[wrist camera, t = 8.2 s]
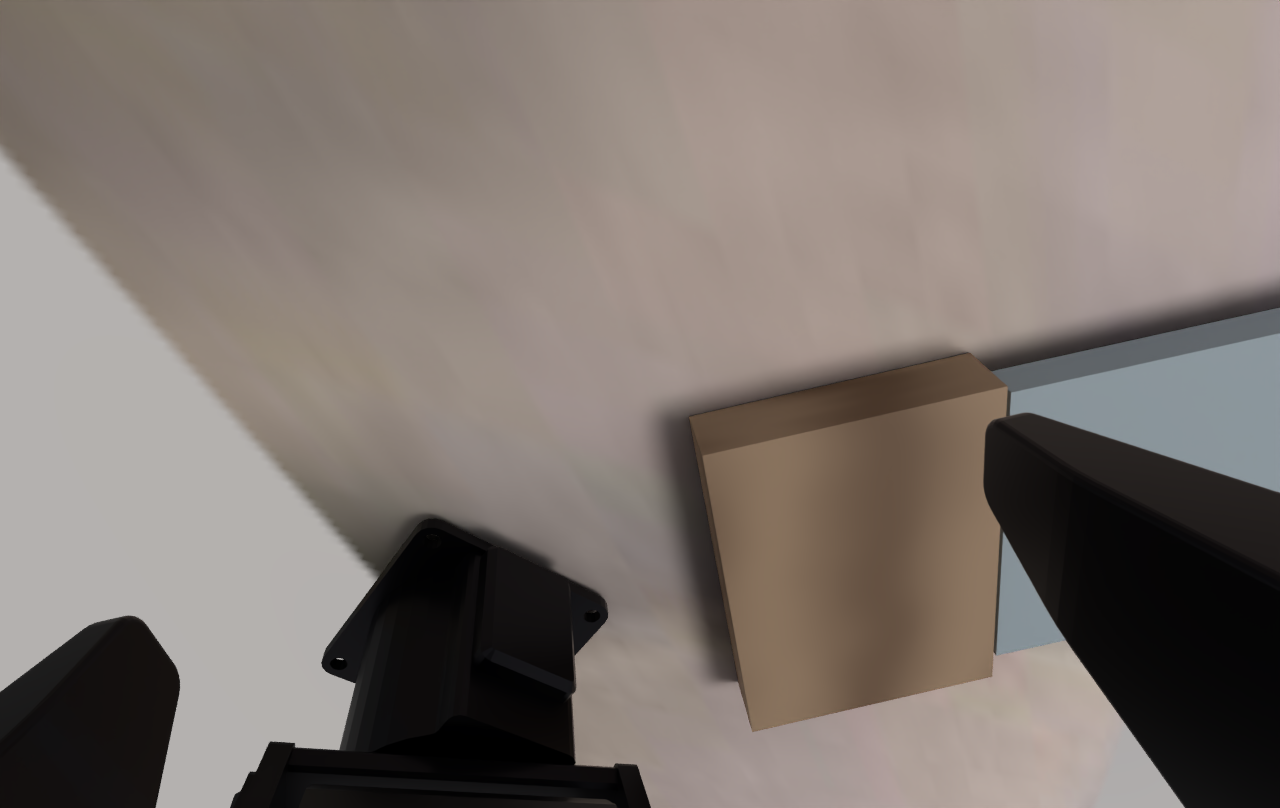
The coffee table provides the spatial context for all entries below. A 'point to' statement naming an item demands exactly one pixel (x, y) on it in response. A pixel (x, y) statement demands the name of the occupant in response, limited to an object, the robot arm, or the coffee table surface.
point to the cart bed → (855, 537)
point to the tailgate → (1152, 422)
